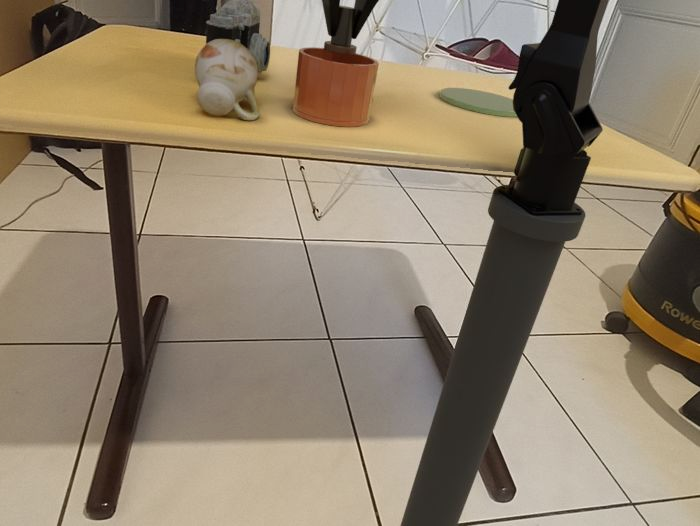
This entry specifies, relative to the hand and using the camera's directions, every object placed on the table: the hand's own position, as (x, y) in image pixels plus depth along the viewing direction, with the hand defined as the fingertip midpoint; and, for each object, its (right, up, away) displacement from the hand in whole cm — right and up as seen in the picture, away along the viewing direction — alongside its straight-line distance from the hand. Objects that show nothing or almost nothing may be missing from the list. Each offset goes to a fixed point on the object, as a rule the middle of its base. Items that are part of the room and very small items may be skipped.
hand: (342, 37), depth 65 cm
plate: (+22, -1, +25) cm, 34 cm away
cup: (-1, -8, +4) cm, 9 cm away
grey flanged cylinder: (0, -1, +1) cm, 2 cm away
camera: (-15, 0, +15) cm, 21 cm away
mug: (-13, -9, 0) cm, 16 cm away
